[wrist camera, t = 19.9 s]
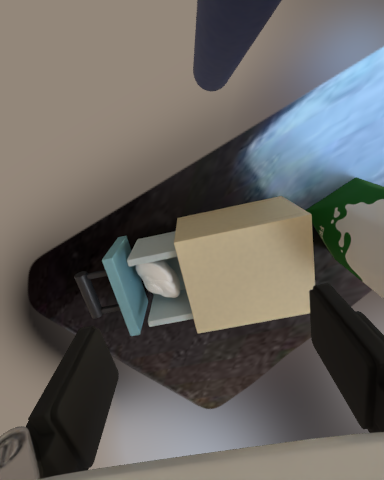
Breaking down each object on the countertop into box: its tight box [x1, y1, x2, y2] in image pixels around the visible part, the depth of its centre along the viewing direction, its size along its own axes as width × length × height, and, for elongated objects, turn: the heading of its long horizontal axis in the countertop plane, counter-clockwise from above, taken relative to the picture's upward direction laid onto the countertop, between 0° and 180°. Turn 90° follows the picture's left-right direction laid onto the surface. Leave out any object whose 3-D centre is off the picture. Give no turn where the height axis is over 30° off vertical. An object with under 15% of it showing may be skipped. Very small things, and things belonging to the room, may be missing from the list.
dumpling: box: [136, 260, 180, 298], centre depth 31 cm, size 7×5×4 cm
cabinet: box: [174, 196, 315, 333], centre depth 31 cm, size 14×12×9 cm
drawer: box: [74, 231, 194, 336], centre depth 32 cm, size 18×10×7 cm, turn 102°
